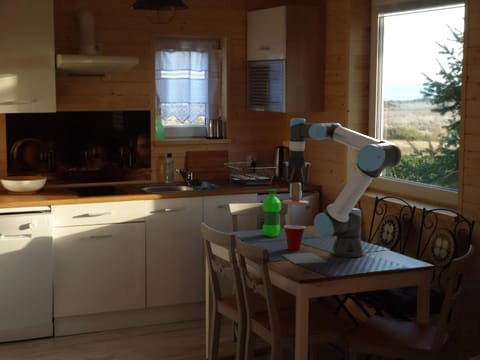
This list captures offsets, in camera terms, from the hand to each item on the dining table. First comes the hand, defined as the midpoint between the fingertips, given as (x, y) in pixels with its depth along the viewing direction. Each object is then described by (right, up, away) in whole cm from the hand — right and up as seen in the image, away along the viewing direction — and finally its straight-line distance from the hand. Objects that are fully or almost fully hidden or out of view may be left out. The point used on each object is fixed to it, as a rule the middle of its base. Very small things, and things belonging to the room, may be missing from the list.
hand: (295, 197), depth 382 cm
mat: (+3, -29, -16) cm, 33 cm away
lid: (0, -3, 0) cm, 3 cm away
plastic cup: (-1, -26, +4) cm, 27 cm away
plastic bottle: (-11, -22, +35) cm, 43 cm away
